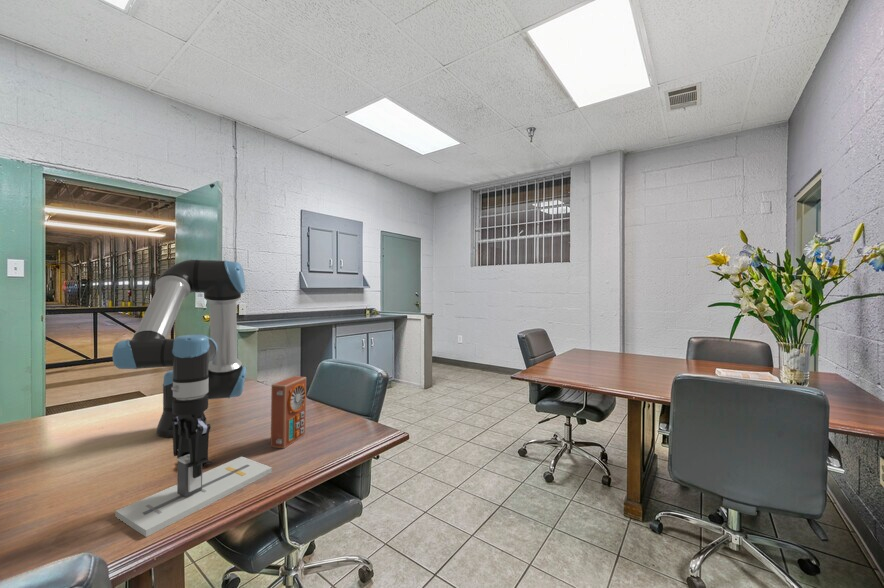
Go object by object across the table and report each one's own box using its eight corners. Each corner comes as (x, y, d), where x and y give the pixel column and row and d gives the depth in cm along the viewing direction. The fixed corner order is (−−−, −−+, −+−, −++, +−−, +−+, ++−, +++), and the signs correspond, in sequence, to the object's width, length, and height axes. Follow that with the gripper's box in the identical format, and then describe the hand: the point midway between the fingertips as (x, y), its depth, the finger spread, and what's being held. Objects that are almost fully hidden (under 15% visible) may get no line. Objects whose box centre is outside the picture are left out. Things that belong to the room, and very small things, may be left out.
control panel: (309, 432, 133) (283, 450, 119) (292, 431, 135) (265, 448, 120) (310, 376, 133) (284, 386, 118) (293, 374, 134) (266, 385, 120)
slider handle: (177, 493, 90) (177, 458, 90) (194, 485, 94) (194, 451, 94) (184, 497, 89) (185, 461, 88) (202, 489, 92) (202, 455, 92)
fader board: (115, 517, 83) (115, 510, 83) (241, 461, 111) (241, 455, 111) (146, 537, 77) (146, 529, 77) (271, 472, 105) (271, 467, 105)
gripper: (156, 394, 91) (156, 484, 92) (193, 405, 84) (192, 504, 84) (188, 387, 98) (187, 471, 98) (225, 397, 90) (224, 488, 91)
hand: (189, 486), depth 91 cm, fingers closed on slider handle, 3 cm apart
